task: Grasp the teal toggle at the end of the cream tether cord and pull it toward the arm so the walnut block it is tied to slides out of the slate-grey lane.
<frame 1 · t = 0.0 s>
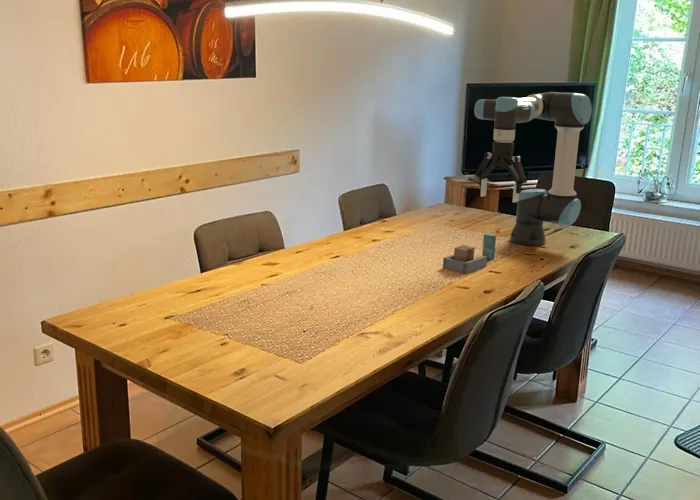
hand: (498, 199, 254), 28 cm above the table, fingers open, 13 cm apart
lane: (464, 267, 266), on the table
tethered block: (463, 267, 265), on the table
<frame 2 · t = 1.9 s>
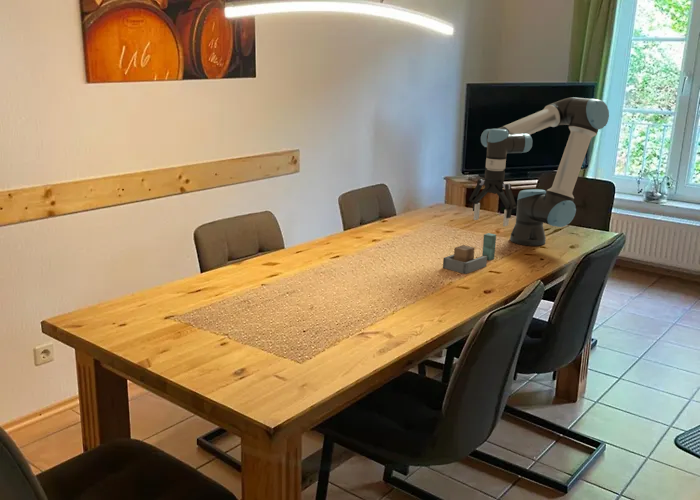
hand: (490, 222, 273), 15 cm above the table, fingers open, 13 cm apart
nothing on the table moved.
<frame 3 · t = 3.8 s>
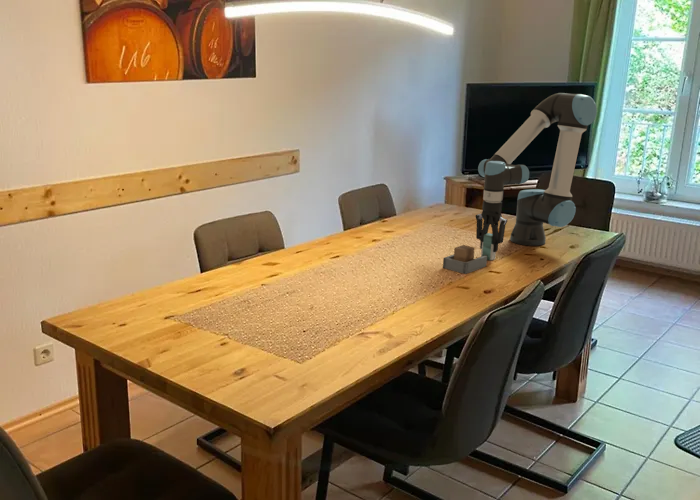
hand: (488, 258, 277), 0 cm above the table, fingers closed on tethered block, 3 cm apart
tethered block: (463, 267, 265), on the table, touching gripper
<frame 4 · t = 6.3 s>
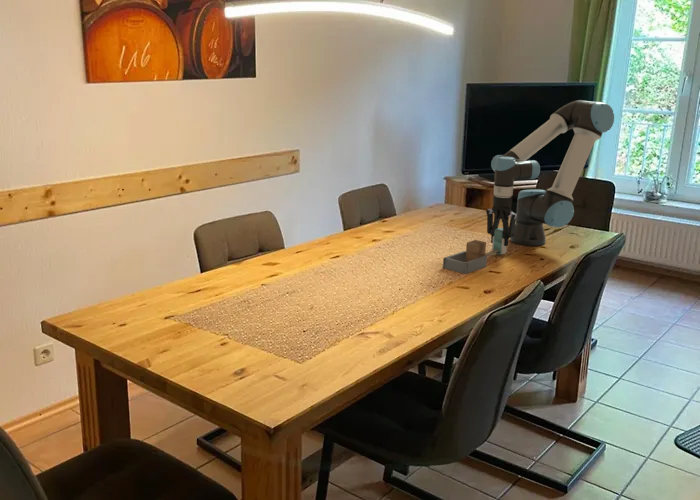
hand: (498, 252, 282), 1 cm above the table, fingers closed on tethered block, 3 cm apart
tethered block: (475, 262, 270), point 1 cm above the table, touching gripper
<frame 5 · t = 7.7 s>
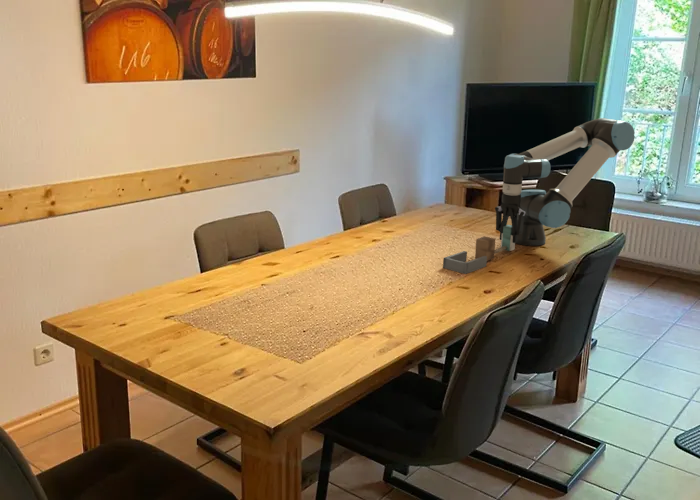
hand: (507, 248, 287), 1 cm above the table, fingers closed on tethered block, 3 cm apart
tethered block: (484, 258, 275), point 1 cm above the table, touching gripper
when the fingers open (2 cm above the table, at t = 8.9 s): tethered block drops 1 cm, on the table.
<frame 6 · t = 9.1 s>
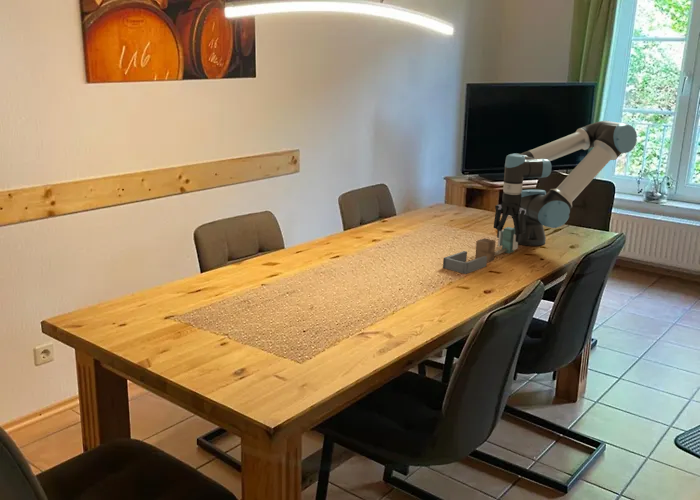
hand: (507, 247, 287), 2 cm above the table, fingers open, 6 cm apart
tethered block: (484, 260, 275), on the table
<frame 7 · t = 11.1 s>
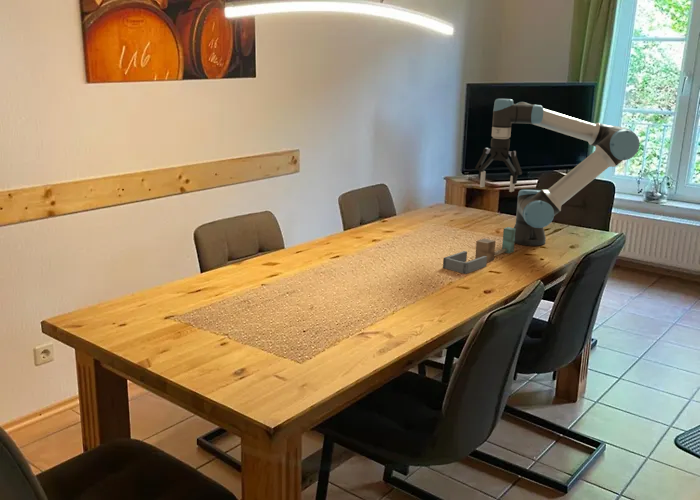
hand: (496, 189, 286), 25 cm above the table, fingers open, 13 cm apart
nothing on the table moved.
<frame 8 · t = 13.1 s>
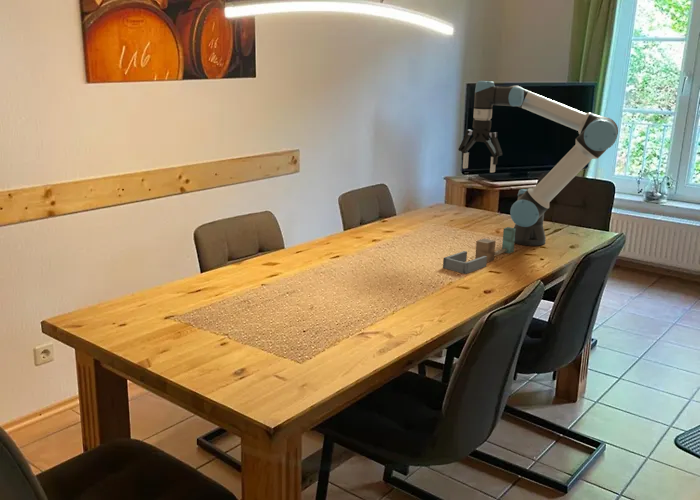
hand: (478, 170, 292), 32 cm above the table, fingers open, 13 cm apart
nothing on the table moved.
at the end: tethered block inside the target area (3.2 cm from its centre), on the table; tethered block moved 14.8 cm from its start; the gripper is holding nothing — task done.
